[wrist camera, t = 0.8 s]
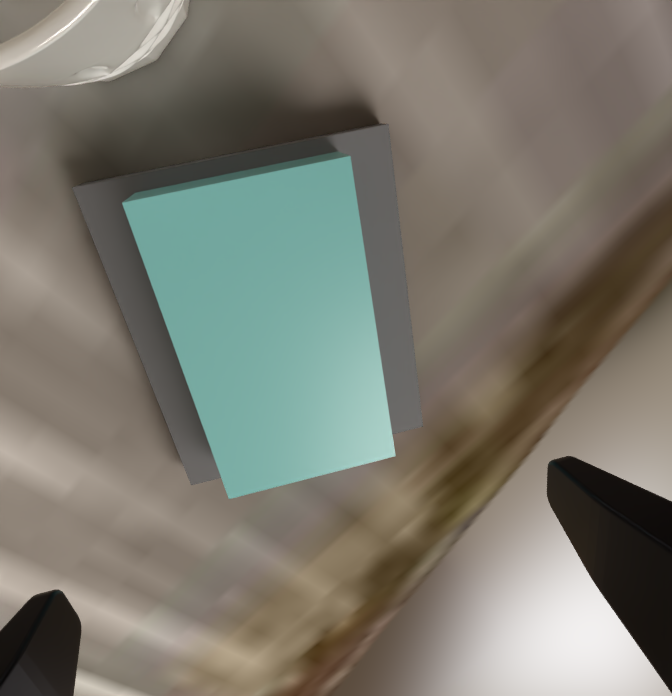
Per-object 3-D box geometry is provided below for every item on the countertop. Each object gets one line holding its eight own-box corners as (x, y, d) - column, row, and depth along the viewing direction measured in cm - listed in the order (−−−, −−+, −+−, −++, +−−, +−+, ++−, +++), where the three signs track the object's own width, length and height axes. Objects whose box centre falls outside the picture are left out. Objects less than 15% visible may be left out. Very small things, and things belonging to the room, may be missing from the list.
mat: (380, 123, 17) (388, 124, 16) (415, 413, 22) (422, 426, 21) (81, 183, 16) (72, 187, 15) (193, 469, 21) (191, 485, 20)
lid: (337, 151, 16) (350, 155, 14) (382, 426, 21) (395, 456, 19) (135, 192, 15) (121, 202, 14) (229, 465, 20) (228, 499, 19)
